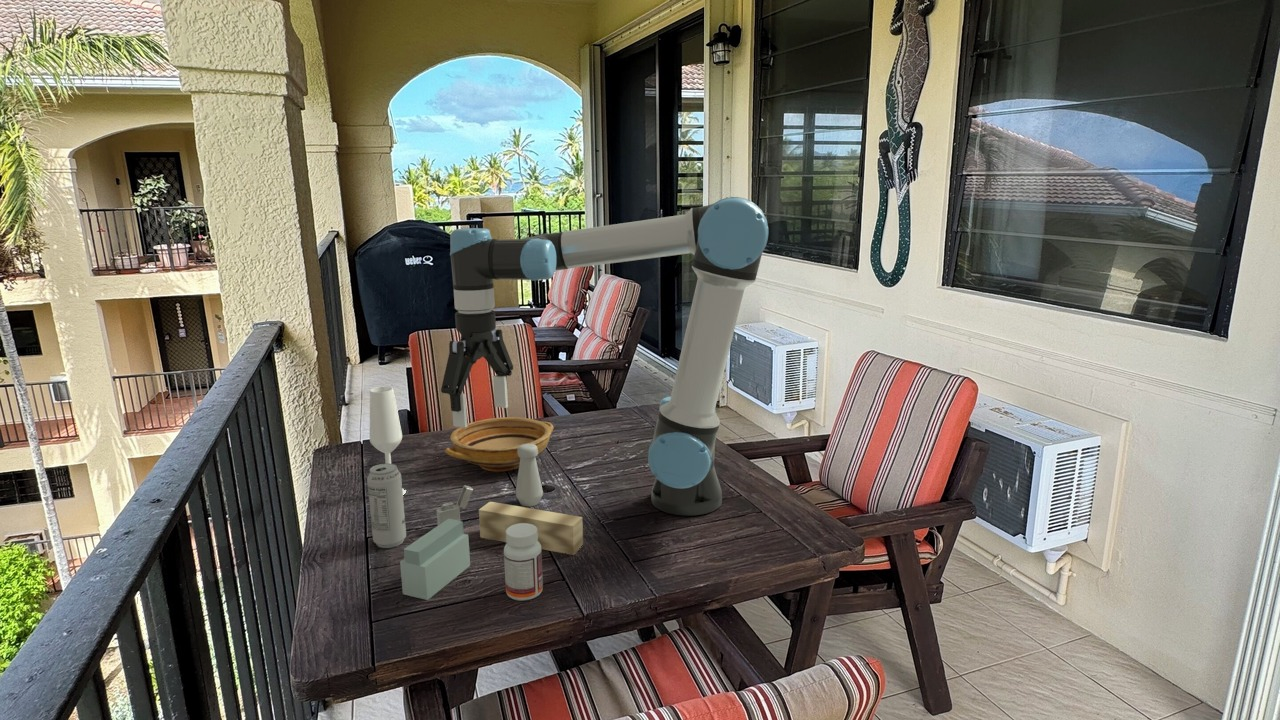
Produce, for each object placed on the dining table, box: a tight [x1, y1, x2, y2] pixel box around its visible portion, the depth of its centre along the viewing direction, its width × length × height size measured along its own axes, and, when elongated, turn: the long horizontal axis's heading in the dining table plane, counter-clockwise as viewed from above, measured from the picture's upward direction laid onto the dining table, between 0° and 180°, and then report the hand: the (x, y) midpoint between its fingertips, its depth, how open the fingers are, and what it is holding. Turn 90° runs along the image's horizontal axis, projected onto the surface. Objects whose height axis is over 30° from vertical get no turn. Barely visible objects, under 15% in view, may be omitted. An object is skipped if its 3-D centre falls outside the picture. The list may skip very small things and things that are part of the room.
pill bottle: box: [503, 523, 544, 601], centre depth 119 cm, size 6×6×11 cm
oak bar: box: [478, 501, 584, 556], centre depth 137 cm, size 20×4×6 cm, turn 69°
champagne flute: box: [369, 386, 407, 495], centre depth 157 cm, size 7×7×24 cm
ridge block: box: [399, 519, 471, 601], centre depth 124 cm, size 5×12×8 cm, turn 158°
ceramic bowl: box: [444, 416, 554, 472], centre depth 177 cm, size 30×24×8 cm
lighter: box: [436, 484, 474, 526], centre depth 143 cm, size 7×2×8 cm, turn 125°
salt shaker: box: [515, 444, 544, 508], centre depth 153 cm, size 6×6×13 cm
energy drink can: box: [366, 462, 407, 549], centre depth 136 cm, size 6×6×15 cm
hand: (481, 416), depth 143 cm, fingers open, 13 cm apart
